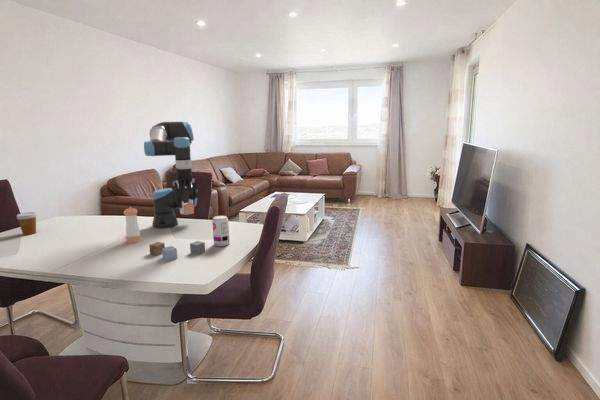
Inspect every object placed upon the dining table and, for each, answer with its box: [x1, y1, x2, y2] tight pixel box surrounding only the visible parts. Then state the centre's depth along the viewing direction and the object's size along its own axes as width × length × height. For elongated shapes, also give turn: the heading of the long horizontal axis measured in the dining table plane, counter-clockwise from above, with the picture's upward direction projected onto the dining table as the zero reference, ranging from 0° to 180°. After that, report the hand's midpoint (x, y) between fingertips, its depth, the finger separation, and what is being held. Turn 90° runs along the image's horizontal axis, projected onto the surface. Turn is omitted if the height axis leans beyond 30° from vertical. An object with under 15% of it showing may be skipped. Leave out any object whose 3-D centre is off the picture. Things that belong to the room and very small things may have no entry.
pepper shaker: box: [123, 206, 142, 244], centre depth 192 cm, size 7×7×19 cm
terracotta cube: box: [183, 203, 195, 216], centre depth 183 cm, size 5×5×5 cm
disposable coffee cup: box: [16, 211, 37, 236], centre depth 208 cm, size 10×10×12 cm
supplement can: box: [211, 215, 230, 247], centre depth 186 cm, size 8×8×15 cm
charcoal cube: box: [189, 240, 206, 256], centre depth 175 cm, size 5×5×5 cm
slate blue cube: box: [161, 245, 178, 262], centre depth 168 cm, size 5×5×5 cm
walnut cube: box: [148, 241, 166, 257], centre depth 175 cm, size 5×5×5 cm
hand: (187, 212), depth 183 cm, fingers closed on terracotta cube, 5 cm apart
